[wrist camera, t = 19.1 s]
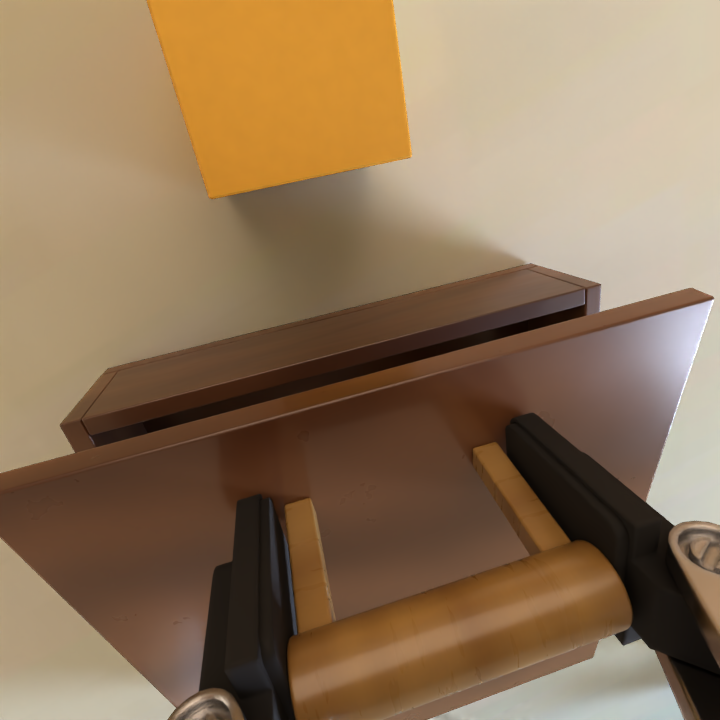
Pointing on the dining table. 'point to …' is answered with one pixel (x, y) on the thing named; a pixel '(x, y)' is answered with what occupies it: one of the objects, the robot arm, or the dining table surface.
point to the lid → (374, 517)
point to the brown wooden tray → (322, 352)
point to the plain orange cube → (284, 87)
